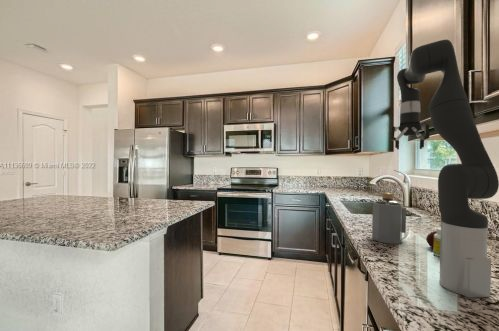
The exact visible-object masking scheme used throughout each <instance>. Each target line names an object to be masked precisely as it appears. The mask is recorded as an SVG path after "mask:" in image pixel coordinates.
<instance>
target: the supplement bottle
mask: <svg viewBox="0 0 499 331" xmlns="http://www.w3.org/2000/svg"><path fill="white" fill-rule="evenodd" d="M435 231H436V232H437V233H436V234H434V247H433V248H432V250H433V252H432V253H433V254H434V255H435V256H436V257H439V258H440V244H441V227H436V230H435Z"/></svg>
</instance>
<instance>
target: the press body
mask: <svg viewBox="0 0 499 331" xmlns="http://www.w3.org/2000/svg"><path fill="white" fill-rule="evenodd" d="M371 222H372V226H371V228H372V229H371V232H372V233H371V236H372V240H374V241H376V242H378V243H383V244H388V245H401V244H402V243H403V234H405V233H406V227H407V226H406V225H407V207H404V204H402V203H400V202H399V203H394V202H389V205H386V202H385V201H384V200H383V201H381V200H380V201H376V200H375V201H373V202H372V221H371Z"/></svg>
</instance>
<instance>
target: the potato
mask: <svg viewBox="0 0 499 331" xmlns="http://www.w3.org/2000/svg"><path fill="white" fill-rule="evenodd" d="M436 233H437V232H436V230H433V231H431V232H430V233H428V234H427V236H426V242H427V244H428V246H429V247H430V248H432V249H433V247H434V234H436Z"/></svg>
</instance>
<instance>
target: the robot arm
mask: <svg viewBox="0 0 499 331" xmlns="http://www.w3.org/2000/svg"><path fill="white" fill-rule="evenodd" d="M436 72H441V73H442V78H441V81H440V84H439V86H438V87H437V89H436V91H435V92H434V95H433V96H432V98H431V99H430V102H429V104H428V113H429V117H430V122H431V125H432V127H433V129H434V131H435V132H436V133H437V134H438V135H439V136H440V137H441V138H442V139H443V140H444V141H445V142H446V143H447V144H448V145H450V146H451V148H452V149H453V150H454V151H455V153H456V154H457V156H458V158H459V161H460V163H449V164H445V165H444V166H443V167H442V168H441V169H440V171H439V174H438V178H437V190H438V191H437V194H438V210H439V213H440V218H441V219H440V228H441V244H440V257H439V285H441V286H442V287H443V288H445V289H447V290H449V291H450V292H453V293H456V294H459V295H462V296H464V297H466V298H469V299H471V298H491V286H492V284H491V283H492V282H491V281H492V259H491V258H489V257H488V227H489V219H488V217H487V216H486V215H485V214H484V213H480V212H477V211H475V210H473V209H472V208H471V207H470V204H469V200H470V199H471V200H483V199H484V200H485V199H486V200H487V199H490V198H493V197H494V196H495V195H496V194H497V193H498V190H499V176H498V172H497V171H496V168H495V166H494V164H493V162H492V160H491V158H490V156H489V154H488V151H487V149H486V148H485V146H484V143H483V141H482V138H481V136H480V135H481V134H480V133H479V130H478V128H477V125H476V122H475V118H474V115H473V111H472V107H471V105H470V102H469V98H468V96H467V94H466V91H465V89H464V88H465V87H464V86H463V82H462V79H461V75H460V71H459V67H458V60H457V56H456V51H455V48H454V46H453V43H452V41H451V40H450V39H441V40H440V39H439V40H437V41H433V42H430V43H429V42H428V43H427V44H423V45H420V46H417V47H416V48H414V49H413V50H412V51H411V53H410V56H409V61H408V66H407V68H402V69H400V70H399V71H398V72H397V75H396V79H397V80H396V81H397V83H398V84H397V85H398V86H399V91H400V97H401V98H400V109H399V125H398V126H392V127H391V134H390V140H391V141H394V143H395V144H394V145H395V146H394V147H395V149H397V150H400V140H401V138H402V137H403V136H405V137H408V136H411V137H412V136H413V137H414V136H416V137H417V138H418V139H419V150H422V149H424V147H425V140H427V139H430V125H429V124H426V125H425V124H424V125H421V110H422V109H421V98H420V97H421V90H420V89H419V88H415V87H410V86H408V85H416V84H420V83H423V82H424V81H425V79H426V75H427V74H431V73H436ZM421 129H422V130H423V131H424V136H423V135H422V134H421V133H420V132H419V131H420V130H421ZM397 130H398V131H399V132H400V133H399V134H398V136H397V137H395V133H396V132H397Z"/></svg>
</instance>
